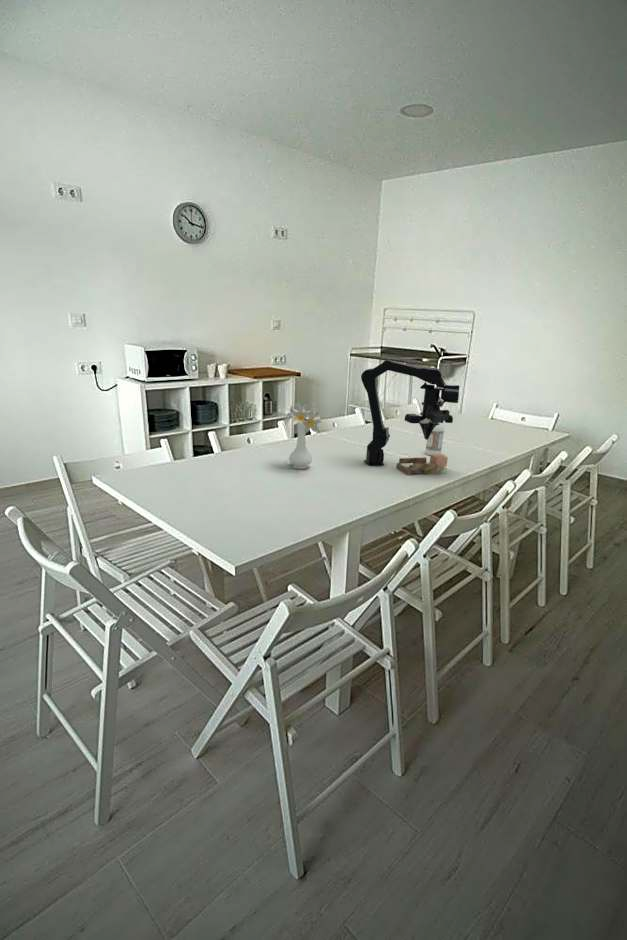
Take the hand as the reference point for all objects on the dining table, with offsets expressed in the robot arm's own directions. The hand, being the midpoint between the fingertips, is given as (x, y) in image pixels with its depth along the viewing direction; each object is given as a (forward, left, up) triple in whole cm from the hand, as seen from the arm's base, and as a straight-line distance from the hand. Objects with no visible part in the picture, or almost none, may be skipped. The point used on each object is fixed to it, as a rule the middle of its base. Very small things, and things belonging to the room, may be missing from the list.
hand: (426, 439), depth 195 cm
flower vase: (-49, +10, -13) cm, 51 cm away
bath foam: (+17, +21, -13) cm, 30 cm away
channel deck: (-1, -1, -13) cm, 13 cm away
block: (+6, -1, -11) cm, 13 cm away
